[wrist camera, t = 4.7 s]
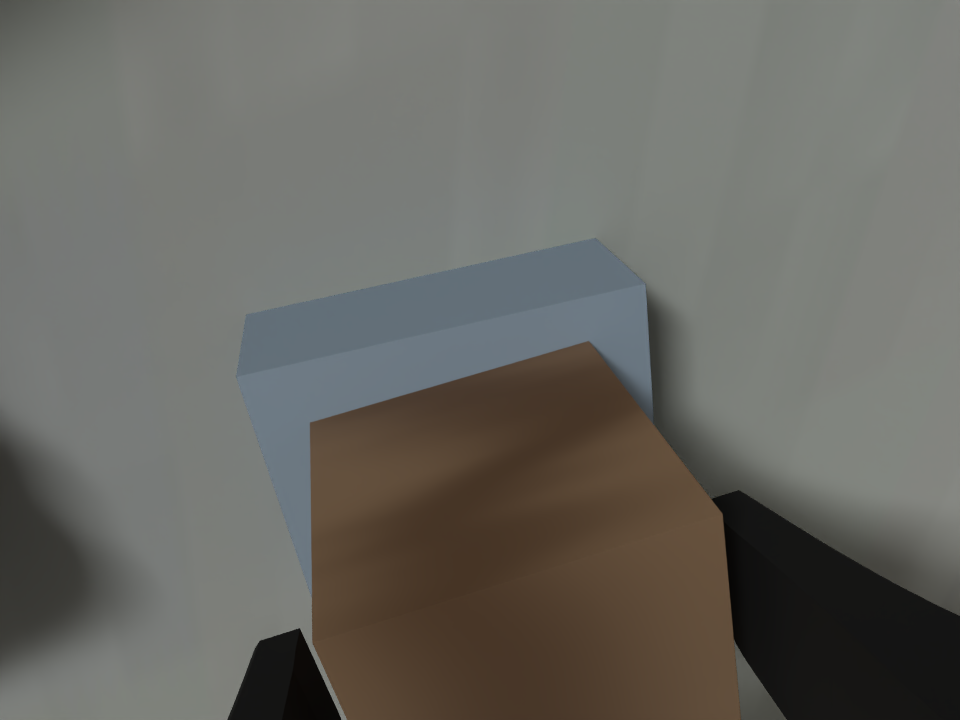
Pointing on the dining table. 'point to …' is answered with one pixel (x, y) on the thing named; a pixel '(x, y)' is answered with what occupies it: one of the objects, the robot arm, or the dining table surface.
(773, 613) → the robot arm
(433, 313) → the blue slab
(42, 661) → the dining table surface
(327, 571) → the walnut block
